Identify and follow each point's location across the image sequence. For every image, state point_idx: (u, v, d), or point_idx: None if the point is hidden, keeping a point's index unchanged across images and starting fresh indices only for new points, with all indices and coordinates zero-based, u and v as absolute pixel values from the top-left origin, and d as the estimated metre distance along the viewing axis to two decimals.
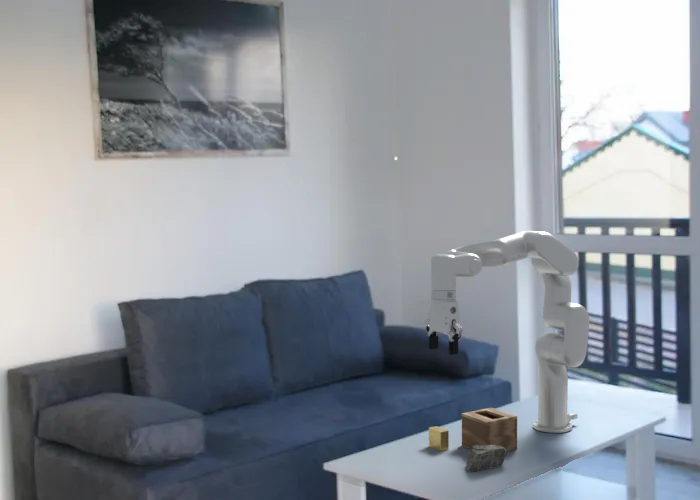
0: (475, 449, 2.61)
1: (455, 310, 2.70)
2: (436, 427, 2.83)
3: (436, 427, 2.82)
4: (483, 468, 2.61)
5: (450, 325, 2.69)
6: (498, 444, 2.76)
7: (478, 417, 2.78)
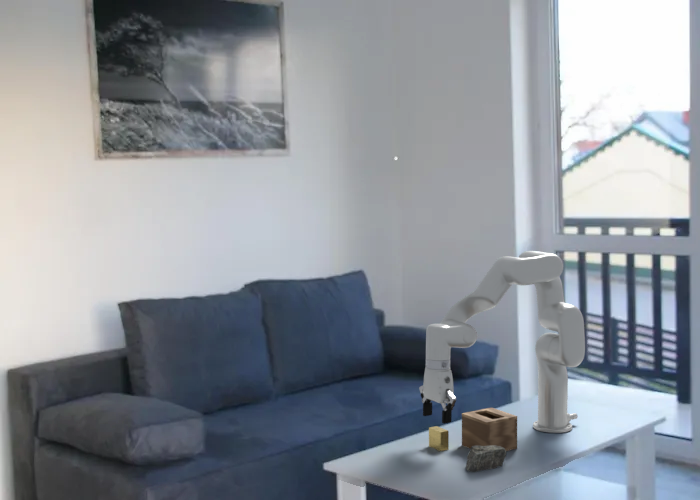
0: (475, 449, 2.61)
1: (449, 380, 2.76)
2: (436, 427, 2.83)
3: (436, 427, 2.82)
4: (483, 468, 2.60)
5: (444, 394, 2.75)
6: (498, 444, 2.76)
7: (478, 417, 2.78)
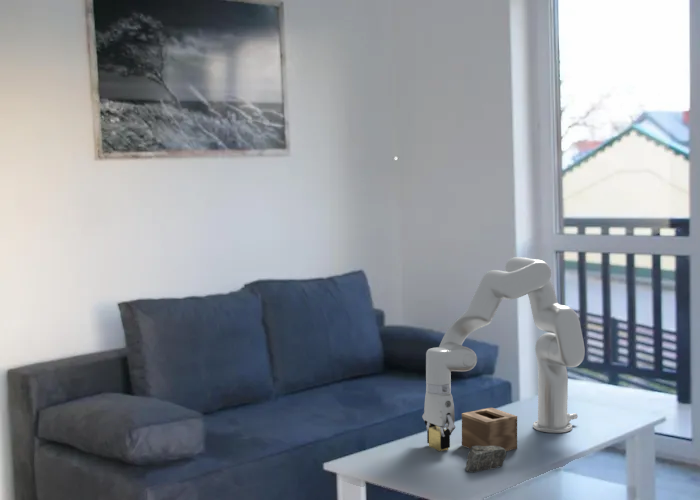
0: (474, 449, 2.60)
1: (450, 404, 2.77)
2: (435, 427, 2.83)
3: (436, 427, 2.82)
4: (482, 469, 2.60)
5: (445, 419, 2.76)
6: (498, 444, 2.76)
7: (478, 417, 2.78)
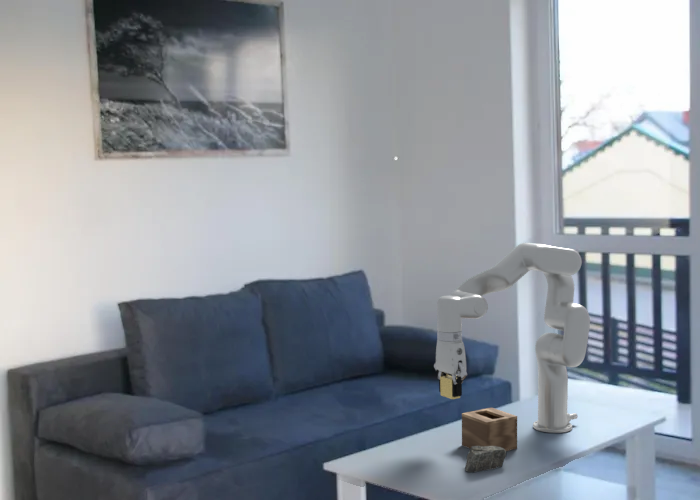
0: (474, 450, 2.60)
1: (461, 351, 2.76)
2: (447, 375, 2.82)
3: (448, 376, 2.81)
4: (482, 469, 2.60)
5: (456, 366, 2.74)
6: (498, 444, 2.76)
7: (478, 417, 2.78)
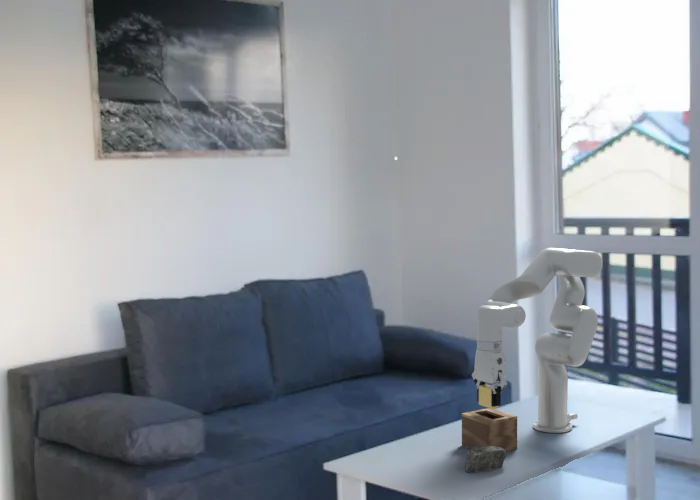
0: (473, 450, 2.60)
1: (501, 361, 2.76)
2: (486, 385, 2.82)
3: (486, 385, 2.81)
4: (481, 469, 2.60)
5: (496, 376, 2.75)
6: (498, 444, 2.76)
7: (478, 417, 2.78)
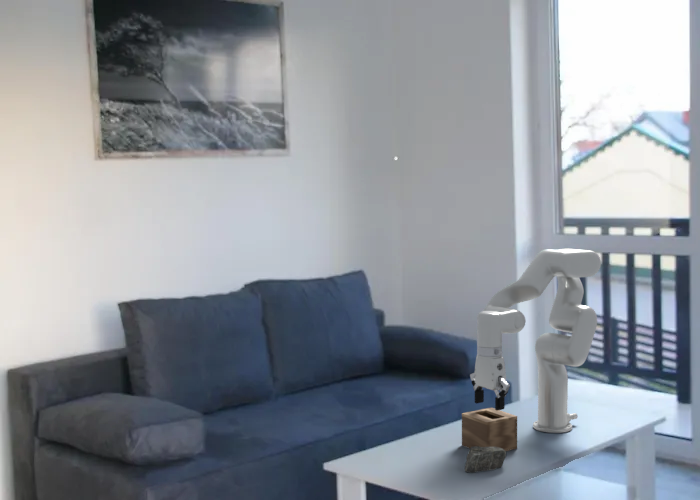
0: (473, 450, 2.60)
1: (501, 366, 2.76)
2: None
3: None
4: (481, 469, 2.59)
5: (497, 381, 2.75)
6: (498, 444, 2.76)
7: (478, 417, 2.78)
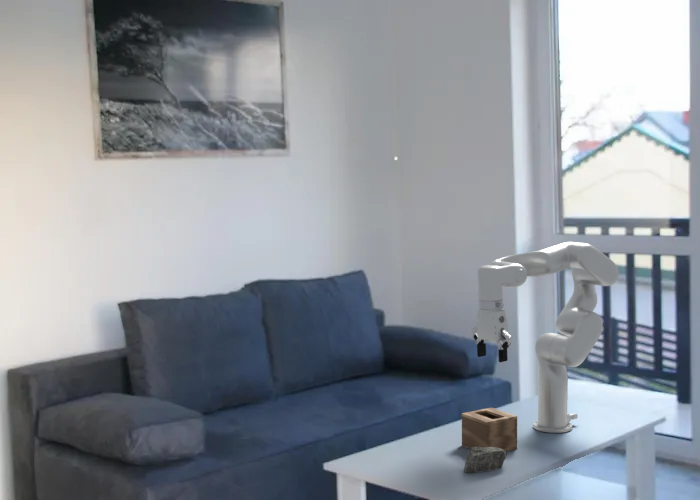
0: (473, 450, 2.60)
1: (503, 319, 2.81)
2: None
3: None
4: (480, 470, 2.59)
5: (499, 334, 2.80)
6: (498, 444, 2.76)
7: (478, 417, 2.78)
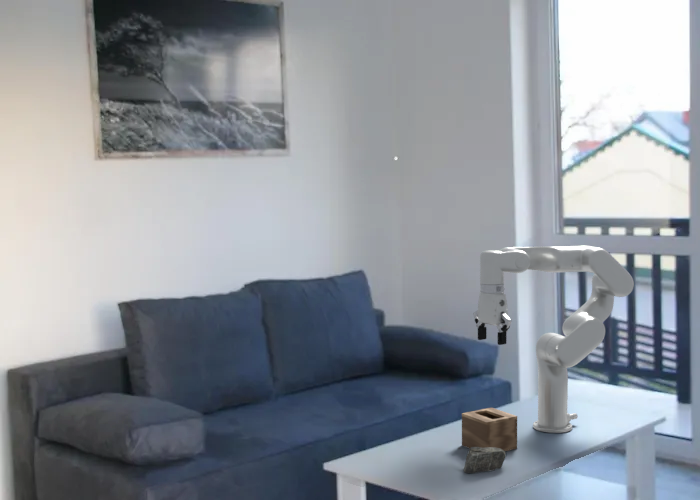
0: (472, 451, 2.59)
1: (503, 303, 2.88)
2: None
3: None
4: (480, 470, 2.59)
5: (499, 317, 2.87)
6: (498, 444, 2.76)
7: (478, 417, 2.78)
